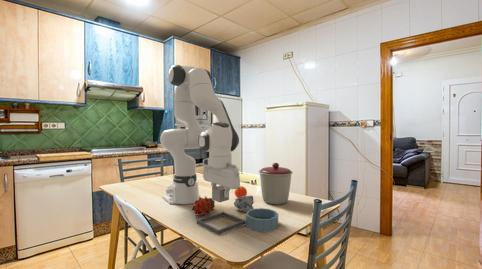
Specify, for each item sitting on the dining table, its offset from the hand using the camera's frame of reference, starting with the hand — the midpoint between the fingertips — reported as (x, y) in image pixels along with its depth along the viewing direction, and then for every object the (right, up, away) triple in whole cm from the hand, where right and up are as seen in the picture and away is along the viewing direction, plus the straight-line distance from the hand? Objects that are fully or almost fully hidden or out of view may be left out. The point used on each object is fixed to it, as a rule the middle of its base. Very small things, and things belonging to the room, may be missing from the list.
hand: (220, 195), depth 100 cm
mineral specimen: (+10, -12, +18) cm, 23 cm away
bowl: (+17, -12, 0) cm, 21 cm away
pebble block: (0, -2, 0) cm, 2 cm away
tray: (0, -12, 0) cm, 12 cm away
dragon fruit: (-9, -12, +11) cm, 18 cm away
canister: (+27, -11, +30) cm, 42 cm away
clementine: (+8, -11, +35) cm, 38 cm away
